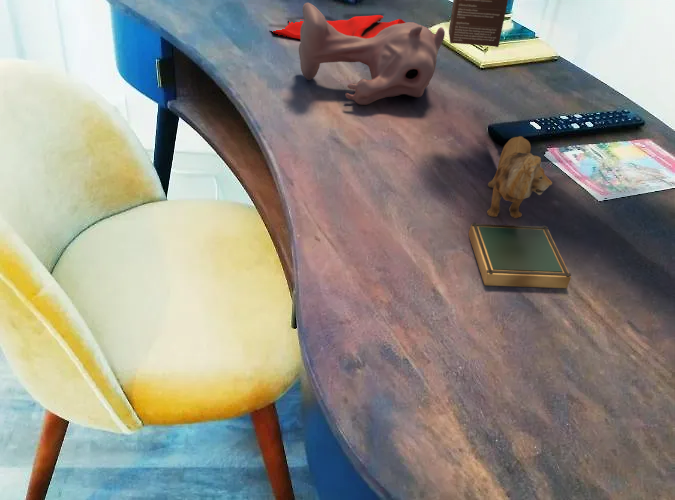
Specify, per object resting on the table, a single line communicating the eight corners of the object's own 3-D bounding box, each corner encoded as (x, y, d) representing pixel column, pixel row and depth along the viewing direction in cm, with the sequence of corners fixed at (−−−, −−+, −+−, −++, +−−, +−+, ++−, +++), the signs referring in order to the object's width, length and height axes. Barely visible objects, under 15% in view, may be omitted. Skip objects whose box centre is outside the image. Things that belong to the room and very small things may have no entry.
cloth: (273, 47, 108) (273, 34, 107) (266, 19, 119) (266, 6, 117) (422, 48, 113) (424, 35, 112) (402, 21, 124) (404, 9, 122)
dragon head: (314, 78, 84) (461, 65, 87) (299, -8, 87) (440, -18, 90) (307, 128, 97) (434, 115, 100) (294, 50, 100) (417, 40, 103)
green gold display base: (543, 237, 71) (547, 225, 70) (567, 288, 64) (571, 276, 63) (468, 234, 70) (471, 222, 69) (484, 285, 64) (487, 273, 63)
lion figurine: (537, 240, 70) (560, 168, 65) (488, 234, 71) (507, 162, 65) (520, 170, 82) (539, 105, 76) (478, 166, 82) (494, 100, 77)
